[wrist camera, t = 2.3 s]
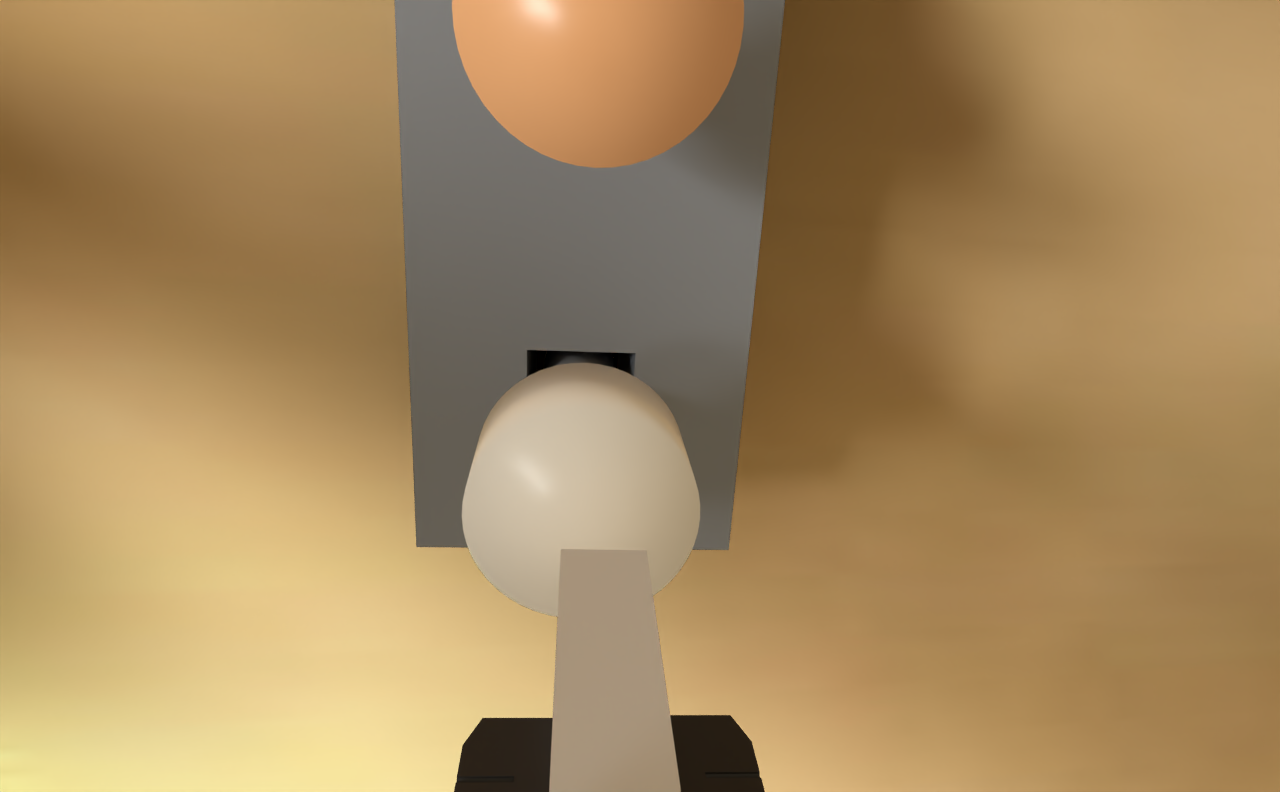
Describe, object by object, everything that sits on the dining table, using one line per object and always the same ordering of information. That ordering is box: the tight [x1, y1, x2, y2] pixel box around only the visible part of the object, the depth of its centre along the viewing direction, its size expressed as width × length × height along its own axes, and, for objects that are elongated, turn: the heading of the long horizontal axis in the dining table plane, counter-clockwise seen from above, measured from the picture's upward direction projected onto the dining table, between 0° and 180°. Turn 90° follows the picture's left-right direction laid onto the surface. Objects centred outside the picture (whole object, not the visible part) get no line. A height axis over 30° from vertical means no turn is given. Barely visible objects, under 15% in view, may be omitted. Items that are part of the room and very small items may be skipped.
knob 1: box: [452, 0, 744, 168], centre depth 20 cm, size 5×5×11 cm
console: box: [395, 0, 785, 550], centre depth 27 cm, size 10×20×8 cm, turn 177°
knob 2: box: [462, 350, 700, 617], centre depth 23 cm, size 5×5×11 cm
